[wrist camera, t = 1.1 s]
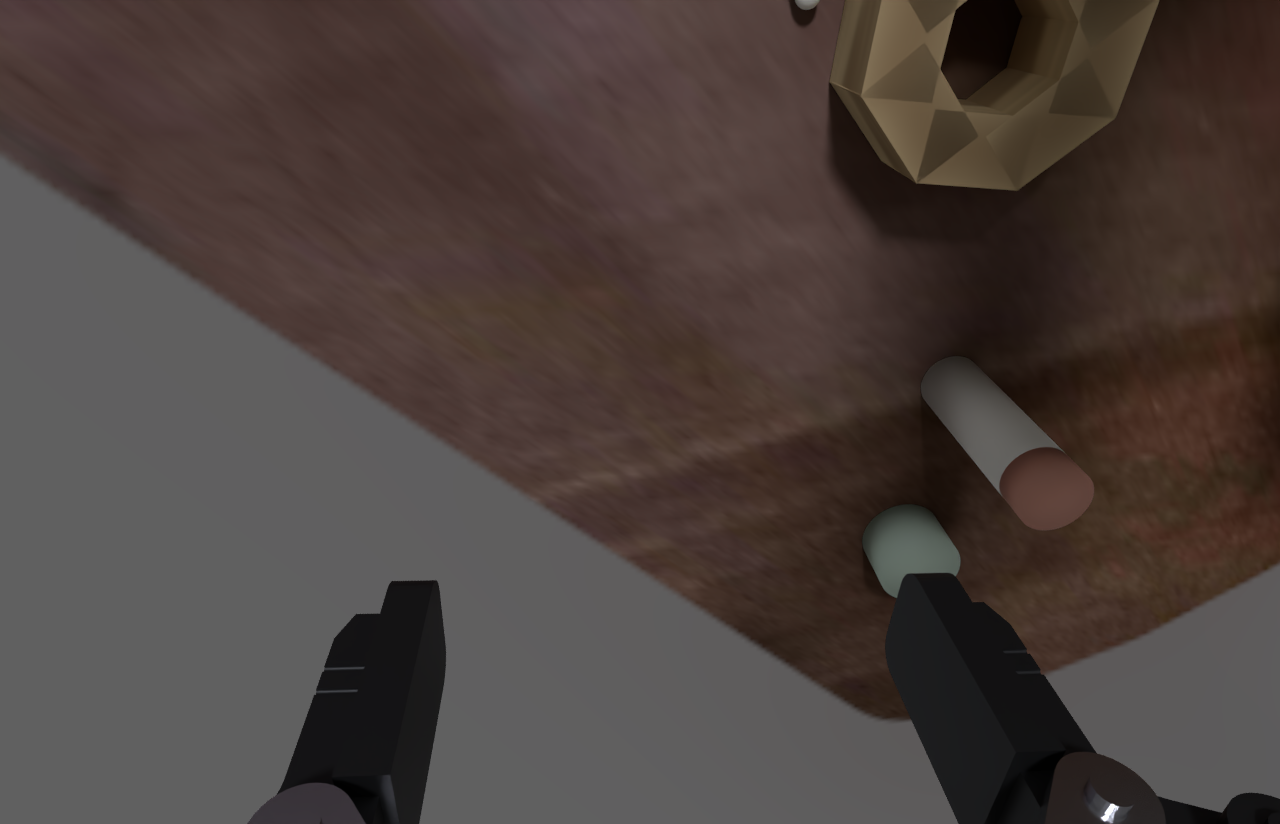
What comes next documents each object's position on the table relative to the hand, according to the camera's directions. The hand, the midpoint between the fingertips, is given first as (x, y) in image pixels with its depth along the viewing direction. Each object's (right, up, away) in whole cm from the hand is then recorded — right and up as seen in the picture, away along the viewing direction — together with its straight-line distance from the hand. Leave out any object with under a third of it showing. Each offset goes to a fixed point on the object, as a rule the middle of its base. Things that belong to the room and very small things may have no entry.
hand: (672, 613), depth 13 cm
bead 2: (+12, +19, +18) cm, 28 cm away
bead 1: (+14, -4, +31) cm, 34 cm away
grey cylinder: (+15, +5, +26) cm, 30 cm away
